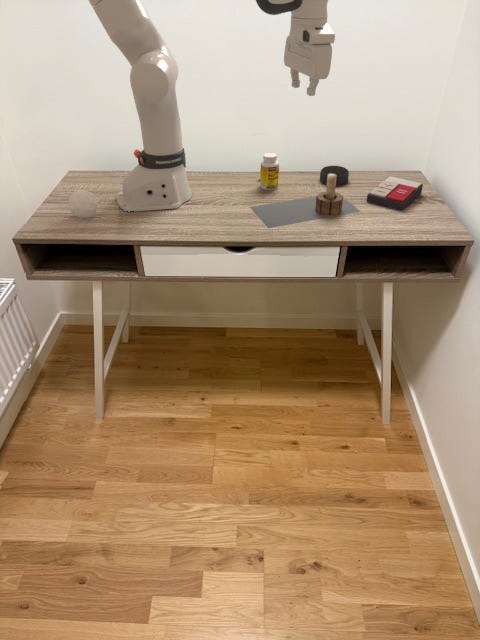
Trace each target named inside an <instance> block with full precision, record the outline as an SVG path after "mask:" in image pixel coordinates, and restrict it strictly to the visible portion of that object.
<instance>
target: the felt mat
mask: <svg viewBox="0 0 480 640" xmlns="http://www.w3.org/2000/svg"><path fill="white" fill-rule="evenodd" d="M316 196H317V195H314V196H308V197H307V196H306V197H303V198H297V199H290V200H283V201H278V202H272V203H266V204H261V205H255V206H254V205H253V206H250V207H249V208H250V209H251V210H252V211H253V213H254V214H256V216H257V217H258V218H259V219H260V220H261V222H262V223H263V224H264V225H265V226H266V227H267V228H275V227H281V226H287V225H292V224H298V223H299V224H300V223H303V222H308V221H316V220H320V219H321V220H322V219H325V218H331V217H337V216H342V215H347V214H348V215H349V214H354V213H359V212H361V210H360V209H359V208H357V207H356V206H354V205H353V204H352V203H350V201H348V200H347V199H345V198H344V197H343V204H342V211H341V212H340V214H337V215H332V216H331V215H329V216H328V215H322V214H321V213H320V214H319V213H318V212H317V211H316V209H315V208H316Z"/></svg>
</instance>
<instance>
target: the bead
mask: <svg viewBox="0 0 480 640" xmlns="http://www.w3.org/2000/svg"><path fill="white" fill-rule="evenodd" d="M315 196H316V208H315V209H316V211H317V212H318V213H319V214H320V213H321V214H322V215H328V216H329V215H331V216H332V215H337V214H340V212H341V211H342V204H343V198H344V196H343V195H342V194H341V193H340V192H339V193H338V191H337V192H336V191H335V195H334V199H331V200H330V199H325V198H326V191H322V192H319V193H318V194H317V195H315ZM337 216H338V215H337ZM332 217H333V216H332Z"/></svg>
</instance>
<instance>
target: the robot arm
mask: <svg viewBox="0 0 480 640" xmlns="http://www.w3.org/2000/svg"><path fill="white" fill-rule="evenodd" d="M88 1H89V4H90V5H91V7H92V9H93V11H94V13H95V14H96V16H97V18H98V21H100V23H101V25H102V27H103V28H104V30H105V32H106V34H107V35H108V37H109V39H110V41H112V43H113V44H114V45H115V46H116V47H117V49H118V50H119V51H120V52H121V53H122V55H123V56H124V57H125V60H127V62H128V63H129V64H130V66H131V69H130V75H129V83H130V88H131V91H132V96H133V100H134V104H135V108H136V111H137V116H138V120H139V124H140V131H141V138H142V146H143V149H142V150H140V149H135V150H134V151H133V154H134V157H135V158H136V159H137V161H138V162H137V163H138V164H137V165H136V166H135V167H134V168H133V169H132V170H131V171H130V172H128V174H127V175H126V176H125V177H124V179H123V181H122V182H123V184H122V191H120V192H118V193H117V195H116V204H117V203H118V204H117V205H118V207H119V208H120V209H121V210H122V209H123V210H122V211H125V212H126V211H128V212H127V213H131V212H130V211H134V212H144V211H157V210H160V211H161V210H168V209H169V210H170V209H171V210H172V209H173V210H174V209H178V208H180V206H182V204H184V203H186V202H187V201H189V200H190V199H191V198H192V197H193V192H192V190H191V187H190V184H189V181H188V177H187V171H186V167H187V166H186V164H187V163H186V161H187V160H186V152H185V148H184V147H183V146H184V145H183V137H182V126H181V125H182V124H181V117H180V113H179V108H178V107H179V106H178V101H177V100H178V99H177V92H176V82H177V80H178V78H179V77H178V76H179V68H178V62H177V60H176V59H175V57H174V55H173V54H172V52H171V50H170V48H169V47H168V45H167V43H166V41H165V40H164V39H163V37H162V35H161V34H160V32H159V30H158V29H157V27H156V25H155V24H154V23H153V21H152V19H151V17H150V16H149V14H148V12H147V10H146V9H145V6H144V4H143V3H142V0H88ZM255 2H256V5H257V6H258V7H259V9H260V10H261V11H262V12H263V13H265V14H267V15H270V16H279V15H281V14H285V13H290V31H289V34H288V36H287V37H286V40H285V46H284V55H283V63H284V66H285V67H287V68H290V78H291V87H292V88H294V89H298V88H300V85H301V79H300V75H299V74H303V75H305V76H307V77H308V78H309V84H308V87H307V88H306V95H307V96H308V97H314V96H315V95H316V90H317V87H318V85H319V83H320V80H326V79H327V78H328V77H329V74H330V70H331V64H332V57H333V56H332V55H333V47H332V44H334V43H335V42H336V41H335V40H336V39H335V38H336V33H335V32H334V31H333V30H332V29H331V27H330V25H329V23H328V2H329V0H255Z"/></svg>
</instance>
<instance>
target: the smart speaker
mask: <svg viewBox="0 0 480 640" xmlns="http://www.w3.org/2000/svg"><path fill="white" fill-rule="evenodd" d="M328 174H336V175H337V177H336V186H343V185H346V184H347V183H348V181H349V175H350V172H349V170H348V168H346V167H344V166H341V165H328V166H327V165H326V166H324V167H323V168H321V169H320V172H319V181H320V182H321V183H323V184H324V185H327V177H328ZM336 186H335V187H336Z"/></svg>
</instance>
